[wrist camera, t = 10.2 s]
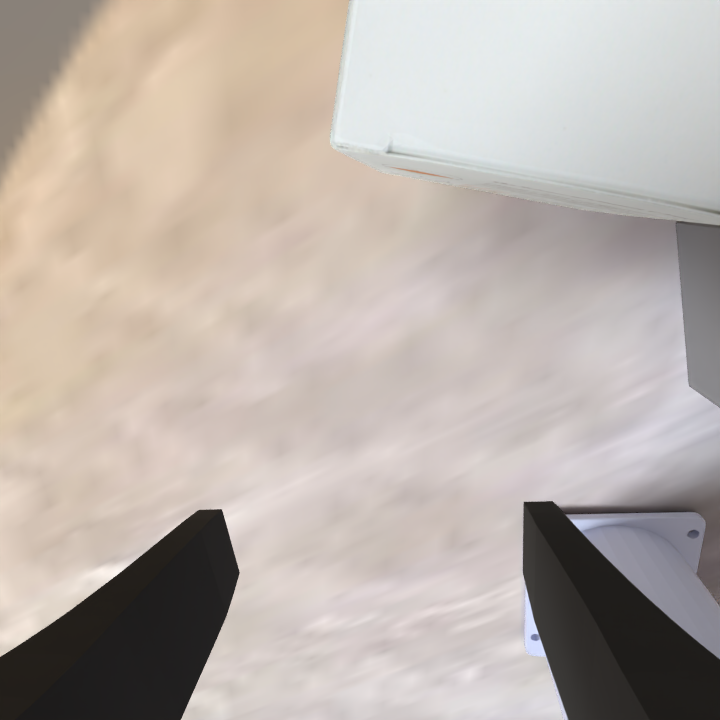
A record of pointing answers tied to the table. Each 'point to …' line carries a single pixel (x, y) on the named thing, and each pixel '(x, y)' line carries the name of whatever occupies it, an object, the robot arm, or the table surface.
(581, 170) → the small box
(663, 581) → the robot arm
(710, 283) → the charcoal base block
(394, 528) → the table surface
